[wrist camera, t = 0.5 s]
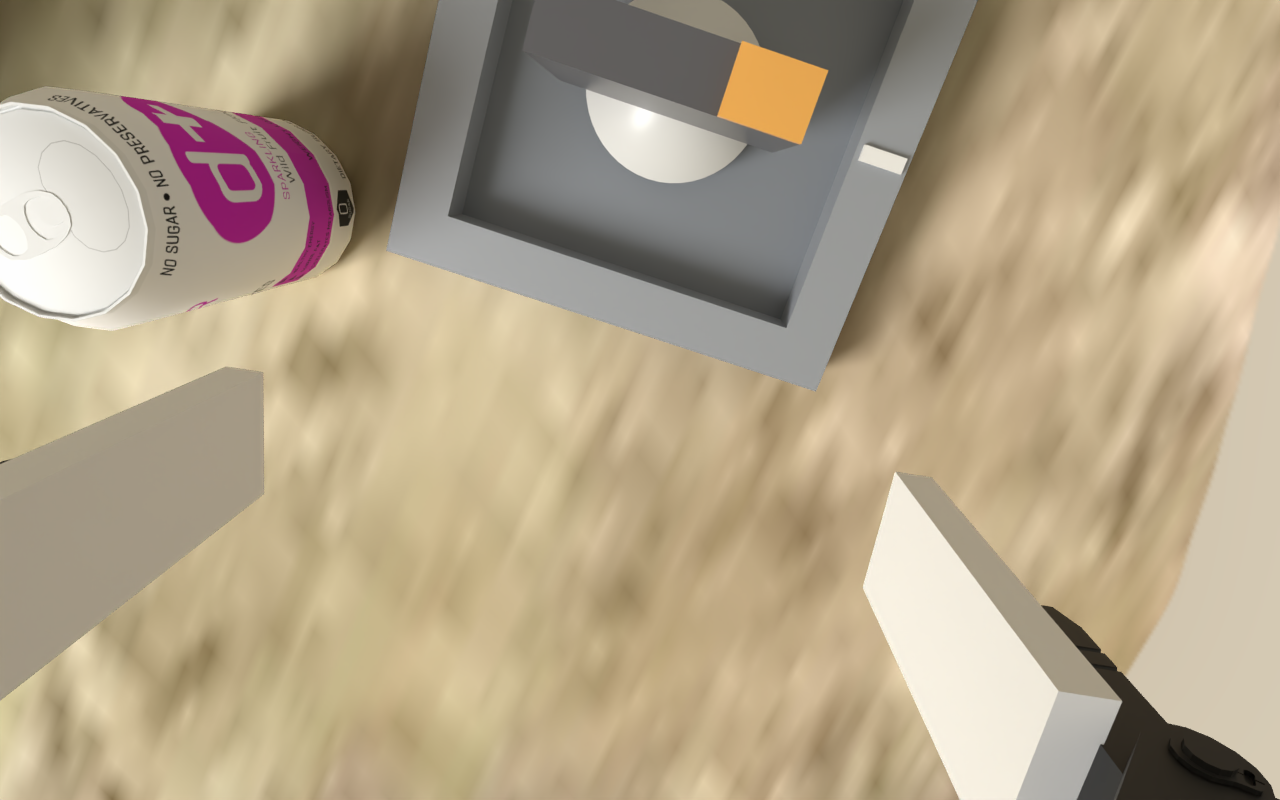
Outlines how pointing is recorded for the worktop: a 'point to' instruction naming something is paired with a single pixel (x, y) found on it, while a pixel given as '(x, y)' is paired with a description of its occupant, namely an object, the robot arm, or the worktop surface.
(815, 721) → the worktop surface
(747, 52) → the dial
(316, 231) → the supplement can
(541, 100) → the dial panel
